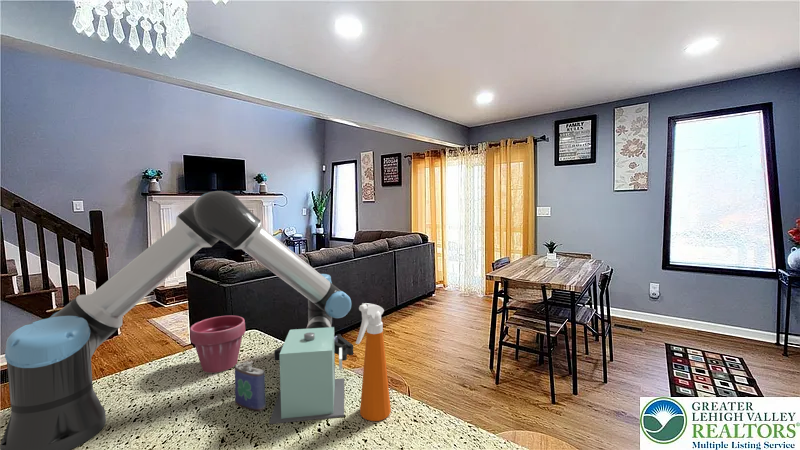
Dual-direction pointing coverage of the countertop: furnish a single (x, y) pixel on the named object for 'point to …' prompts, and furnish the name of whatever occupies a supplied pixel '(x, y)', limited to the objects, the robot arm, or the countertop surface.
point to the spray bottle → (374, 366)
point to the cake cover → (307, 373)
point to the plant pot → (218, 342)
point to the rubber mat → (337, 412)
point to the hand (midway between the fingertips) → (311, 366)
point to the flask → (250, 387)
